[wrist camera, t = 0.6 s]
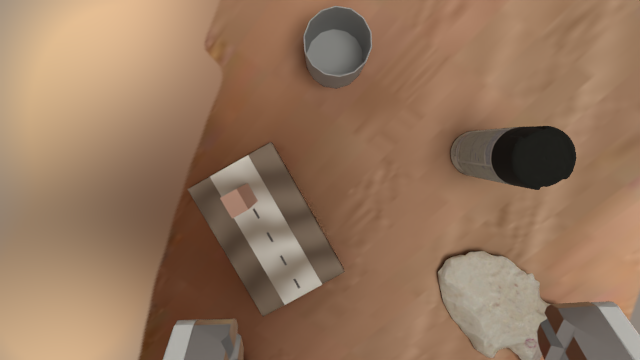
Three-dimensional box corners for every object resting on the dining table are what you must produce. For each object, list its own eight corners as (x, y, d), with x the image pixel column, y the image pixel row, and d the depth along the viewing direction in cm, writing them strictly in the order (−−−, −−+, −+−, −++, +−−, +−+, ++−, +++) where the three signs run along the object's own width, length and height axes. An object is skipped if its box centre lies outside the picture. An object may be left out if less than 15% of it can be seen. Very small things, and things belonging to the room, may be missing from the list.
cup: (332, 99, 60) (334, 90, 50) (294, 57, 59) (289, 39, 49) (375, 60, 59) (386, 43, 50) (337, 17, 59) (341, -9, 49)
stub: (258, 201, 59) (248, 209, 51) (243, 209, 59) (231, 218, 51) (247, 183, 59) (236, 188, 51) (233, 191, 59) (219, 198, 51)
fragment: (525, 371, 64) (538, 391, 59) (409, 309, 65) (412, 323, 60) (578, 292, 61) (595, 306, 56) (456, 229, 63) (462, 238, 58)
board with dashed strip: (343, 268, 62) (344, 272, 60) (264, 312, 62) (262, 317, 61) (272, 142, 60) (270, 142, 59) (190, 188, 61) (186, 189, 59)
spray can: (500, 166, 61) (588, 176, 41) (457, 182, 61) (524, 200, 41) (485, 124, 60) (567, 113, 40) (442, 141, 60) (502, 138, 40)
